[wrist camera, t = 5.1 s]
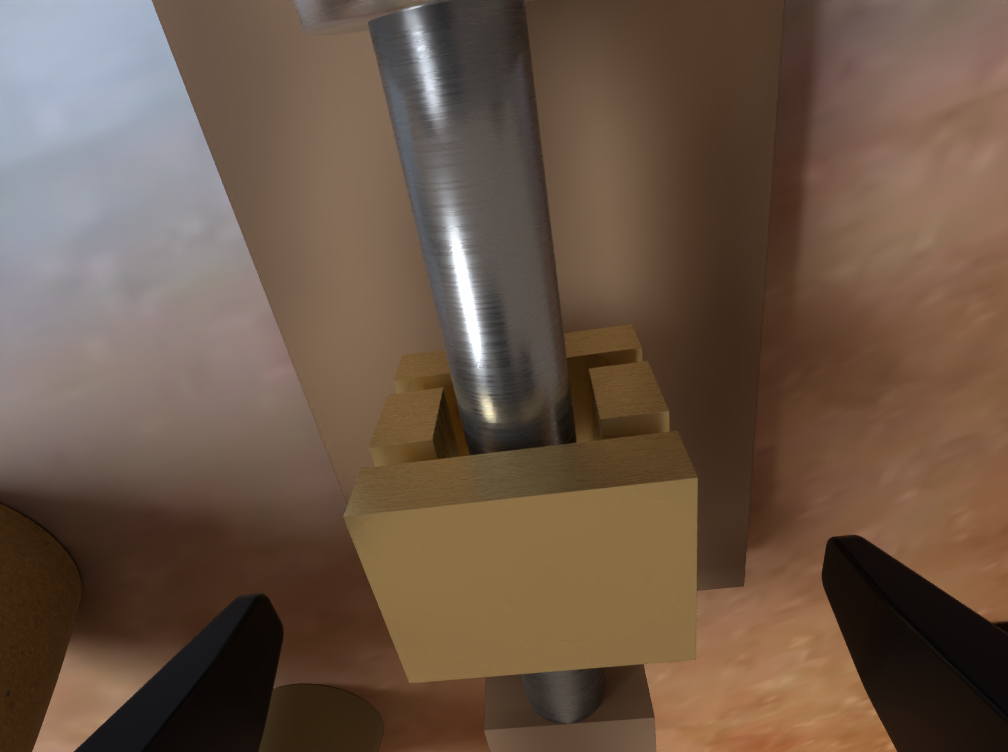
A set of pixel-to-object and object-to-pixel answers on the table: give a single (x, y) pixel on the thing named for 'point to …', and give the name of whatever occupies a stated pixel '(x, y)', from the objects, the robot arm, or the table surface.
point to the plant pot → (31, 625)
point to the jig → (575, 229)
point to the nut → (531, 527)
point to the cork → (320, 721)
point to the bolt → (479, 229)
